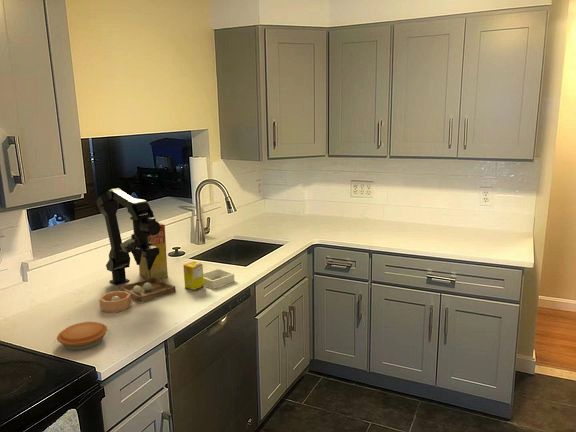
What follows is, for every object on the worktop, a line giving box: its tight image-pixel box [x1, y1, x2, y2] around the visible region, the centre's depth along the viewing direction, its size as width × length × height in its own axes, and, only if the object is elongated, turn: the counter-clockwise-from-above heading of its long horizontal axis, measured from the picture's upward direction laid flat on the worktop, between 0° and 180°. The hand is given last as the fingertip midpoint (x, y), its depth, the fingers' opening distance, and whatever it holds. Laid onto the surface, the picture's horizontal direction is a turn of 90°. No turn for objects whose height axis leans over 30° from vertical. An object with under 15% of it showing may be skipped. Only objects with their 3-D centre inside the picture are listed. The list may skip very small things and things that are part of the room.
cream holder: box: [203, 268, 236, 290], centre depth 213 cm, size 12×13×4 cm
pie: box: [56, 321, 108, 351], centre depth 159 cm, size 15×16×5 cm
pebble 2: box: [133, 286, 142, 294], centre depth 198 cm, size 4×4×4 cm
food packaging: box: [138, 221, 169, 280], centre depth 220 cm, size 13×9×25 cm
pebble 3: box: [143, 283, 152, 291], centre depth 202 cm, size 4×4×4 cm
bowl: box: [98, 290, 133, 313], centre depth 187 cm, size 11×11×4 cm
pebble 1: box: [111, 296, 120, 301], centre depth 187 cm, size 4×4×4 cm
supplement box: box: [182, 261, 205, 292], centre depth 205 cm, size 6×6×11 cm
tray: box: [119, 277, 176, 304], centre depth 202 cm, size 17×16×2 cm
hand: (143, 267), depth 199 cm, fingers open, 9 cm apart
